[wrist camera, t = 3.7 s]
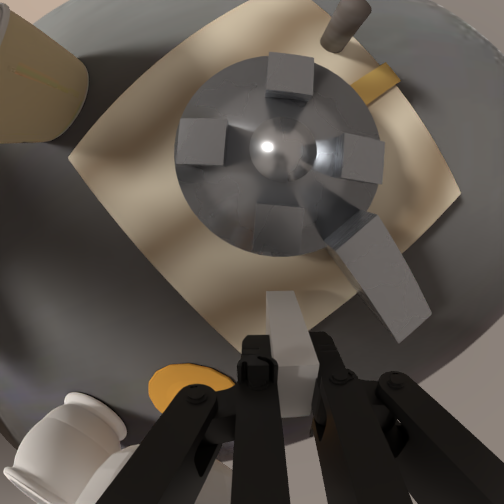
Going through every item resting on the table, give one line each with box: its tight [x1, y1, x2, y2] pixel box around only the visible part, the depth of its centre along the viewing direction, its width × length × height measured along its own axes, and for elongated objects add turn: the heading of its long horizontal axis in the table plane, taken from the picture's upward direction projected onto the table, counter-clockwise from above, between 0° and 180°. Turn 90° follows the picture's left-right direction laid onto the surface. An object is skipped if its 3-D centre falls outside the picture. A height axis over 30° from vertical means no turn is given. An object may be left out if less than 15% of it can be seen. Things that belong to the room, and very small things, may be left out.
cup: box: [75, 363, 235, 504], centre depth 13 cm, size 12×12×17 cm
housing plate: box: [68, 0, 461, 353], centre depth 13 cm, size 20×20×7 cm
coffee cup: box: [0, 3, 89, 144], centre depth 9 cm, size 9×9×12 cm
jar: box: [3, 392, 127, 504], centre depth 16 cm, size 11×10×15 cm
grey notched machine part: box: [174, 52, 432, 343], centre depth 13 cm, size 16×10×5 cm, turn 40°
